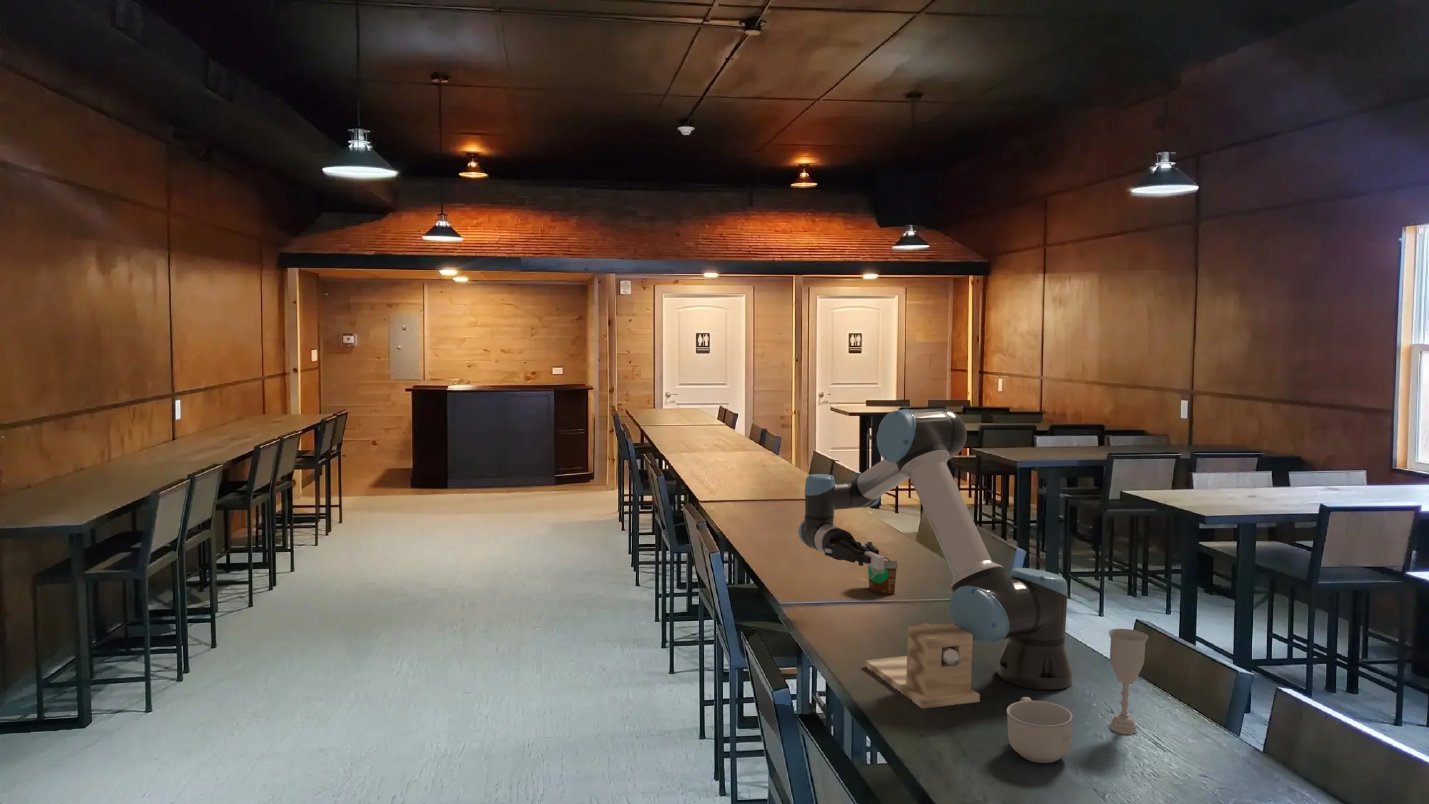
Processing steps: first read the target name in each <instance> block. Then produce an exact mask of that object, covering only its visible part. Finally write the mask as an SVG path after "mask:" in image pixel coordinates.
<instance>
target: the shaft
mask: <svg viewBox="0 0 1429 804" xmlns="http://www.w3.org/2000/svg"><path fill="white" fill-rule="evenodd" d="M920 625H930V624H929V623H924V622H923V623H920V624H917V625H916V626H920ZM941 660H942V661H944V662H946V663H947V664H949V665H950V666H953V667H955V666H957V665H958V664H959V663H960V662H961V655H960V653H959V652H957V651H955V650H953V649H952V648H950V647H942V658H941Z"/></svg>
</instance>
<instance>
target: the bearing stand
mask: <svg viewBox="0 0 1429 804" xmlns="http://www.w3.org/2000/svg"><path fill="white" fill-rule="evenodd" d="M973 642H974V641H973V634H971V633H969V632H967V631H965V630H963V629H961V628H960V627H958V626H956V625H955V624H954V623H953V622H943V623H933V624H929V625H920V626H917V625H913V626H911V625H910V626H908V627H907V645H906V647H907V650H906V655H901V656H892V657H883V658H882V657H881V658H873V659H865V662H864V664H865V665H864V667H865V666H866V667H867V668H866V667H865V668H866V669H868V670H869V669H870V670H871V671H870V670H869V671H870V672H872V671H873V672H874V673H875V674H874V673H873V672H872V673H873V674H874V675H876V674H877V675H878V677H879V676H880V677H881V678H882V679H881V678H880V677H879V678H880V679H881V680H883V679H884V680H885V681H886V682H885V681H884V680H883V681H884V682H885V683H887V684H888V685H889V684H890V685H889V686H891V687H892V686H893V687H892V688H893V689H894V690H896V689H897V691H898V692H899V691H900V692H901V694H902V695H903V694H904V695H905V696H904V695H903V696H904V697H906V698H907V697H908V698H907V699H908V700H910V699H911V700H912V703H914V704H916V705H917V706H918V707H919V708H921V709H930V708H932V709H933V708H938V707H946V706H947V707H948V706H955V705H956V704H957V705H963V704H972V703H979V702H980V701H981V700H980V699H981V698H980V697H981V694H980V693H978V692H977V691H975V690H974V689H972V688H971V687H972V671H973V670H972V669H973V668H972V667H973V665H972V664H973V663H972V662H973ZM942 647H950V648H952V649H953V650H955V651H957V652H959V653H960V655H961V662H960V663H959V664H958V665H957V666H955V667H953V666H950V665H949V664H947V663H946V662H944V661H942V660H941V658H942ZM877 675H876V676H877ZM900 692H899V693H900ZM911 700H910V701H911Z"/></svg>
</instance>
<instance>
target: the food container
mask: <svg viewBox="0 0 1429 804" xmlns="http://www.w3.org/2000/svg"><path fill="white" fill-rule="evenodd" d="M883 557H884V569H879V570H878V569H876V568H874V567H871V566H869V565H867V570H868V572H867V573H868V591H870V592H871V591H872V592H871V593H873V592H874V593H873V594H877V595H882V594H884V596H894V595H895V591H896V579H897V578H896V577H897V569H898V568H899V566H898V560H891V559H889V558H888V557H885V556H883Z"/></svg>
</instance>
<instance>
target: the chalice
mask: <svg viewBox="0 0 1429 804" xmlns="http://www.w3.org/2000/svg"><path fill="white" fill-rule="evenodd" d="M1107 632H1108V635H1109V637H1110V649H1109V650H1110V651H1109V659H1110V663H1111V667H1112V669H1113V671H1114V674H1115V676H1116V679H1117V681H1118V682H1119V683H1121V684H1122V690H1121V692H1120V694H1121V698H1122V699H1121V700H1120V701H1119V704H1120V706H1121V712H1119V713H1116V714H1115V715H1114V716H1113V717H1112V720H1110V721H1111V722H1110V724H1108V728H1109V729H1110V730H1111V731H1112V732H1115V733H1118V734H1121V735H1134V734H1133V733H1136V731H1137V730H1138V728H1137V725H1136V723H1135V719H1134V718H1133V716H1131V715H1130V714H1129V713H1128V707H1129V706H1130V705H1131V704H1130V702H1129V700H1128V698H1129V696H1130V692H1129V685H1132V684H1134V683H1135V681H1136V679H1137V678H1138V676H1139V675H1140V673H1141V670H1142V668H1143V666H1144V663H1145V652H1146V642H1147V641H1148V639H1149V635H1148V634H1146V633H1145V632H1142V631H1139V630H1136V629H1131V628H1113V629H1109V631H1107ZM1136 734H1137V733H1136Z"/></svg>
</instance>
